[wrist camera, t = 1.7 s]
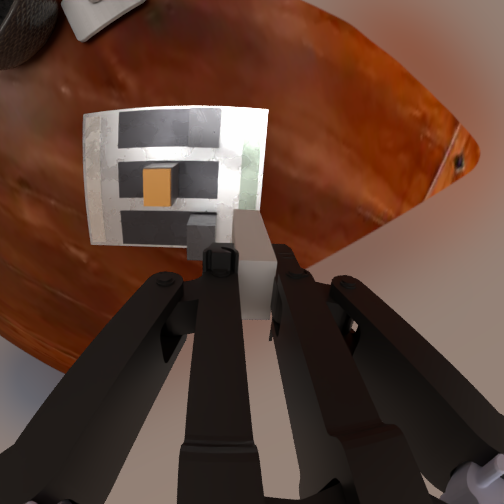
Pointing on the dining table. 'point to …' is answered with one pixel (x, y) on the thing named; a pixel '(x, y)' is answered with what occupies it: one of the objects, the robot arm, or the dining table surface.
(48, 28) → the planter
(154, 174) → the block
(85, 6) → the light switch
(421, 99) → the dining table surface
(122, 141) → the panel
